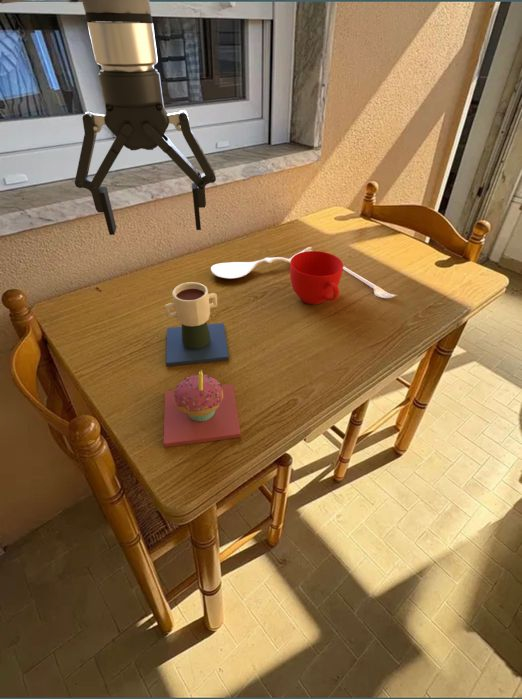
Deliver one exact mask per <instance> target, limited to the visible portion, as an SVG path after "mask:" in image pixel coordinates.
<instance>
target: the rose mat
mask: <svg viewBox="0 0 522 699" xmlns="http://www.w3.org/2000/svg"><path fill="white" fill-rule="evenodd" d="M220 385H221V386H222V390H223V400H222V402H221V403H220V405H219V407H218V408H217V409H216V410H215V413H214V415H213V416H212V417H211V418H210V419H208V420H206V421H195V420H193V419H192V418H190V416H189V415H188V414H186V413H184V412H182V411H180V410H178V409H177V406H176V403H175V400H174V391H175V390H169V391H164V413H163V414H164V417H163V420H164V421H163V447H164V448H169V447H176V446H185V445H193V444H200V443H207V442H215V441H222V440H231V439H238V438H241V437H242V435H241V428H240V422H239V421H240V420H239V414H238V408H237V402H236V396H235V390H234V389H235V388H234V384H233V383H230V384H220Z"/></svg>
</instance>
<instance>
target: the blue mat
mask: <svg viewBox="0 0 522 699" xmlns="http://www.w3.org/2000/svg"><path fill="white" fill-rule="evenodd" d="M207 325H208V329H209V333H210V338H211V339H210V341H209V343H208V344H207V345H206V346H205V347H202V348H198V349H195V348H189V347H187V346H185V345H184V344H183V343H182V326H175V327H174V326H172V327H167V328H166V351H165V352H166V354H165V365H166V367H174V366H184V365H193V364H194V365H195V364H196V365H197V364H205V363H215V362H216V363H217V362H223V361H229V360H230V355H229V349H228V342H227V336H226V330H225V323H224V322H218V323H209V324H208V323H207Z"/></svg>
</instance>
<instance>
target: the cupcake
mask: <svg viewBox="0 0 522 699" xmlns="http://www.w3.org/2000/svg"><path fill="white" fill-rule="evenodd" d="M221 385H222V384H221V383H220V380H219V381H218V380H217V379H216V378H214V377H213V376H211V375H207V374H204V373H203V369H200V371H199V372H198V374H193V375H189V376H188V377H184V378H183V380H181V381H180V382H179V383H178V384H177V386H176V387H175V389H174V390H173V391H174V400H175V403H176V406H177V409H178V410H180V411H182V412H184V413H186V414H188V415H189V416H190V418H192V419H193V420H195V421H206V420H208V419H210V418H211V417H212V416H213V415H214V413H215V410H216V409H217V408H218V407H219V405H220V403H221V402H222V400H223V390H222V386H221Z"/></svg>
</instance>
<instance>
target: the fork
mask: <svg viewBox="0 0 522 699" xmlns="http://www.w3.org/2000/svg"><path fill="white" fill-rule="evenodd" d="M343 270H344V271H345V272H347V273H348V274H350V275H351V276H353V277H355V278H356V279H357V280H359V281H361V282H362V283H364V284H366V286H369V287H370V288H371V289H373V294H374V296H376V297H378V298H380V299H381V298H382V299H392V298H394V297H396V296H397V294H393V293H390V292H387V291H386V290H384V289H383V288H381V287H380V286H378V285H376V284H374V283H373V282H371V281H369V280H368V279H366V278H364V276H363V277H362V276H361V275H359V274H357V273H356V272H354V271H353V270H351V269H350V268H347V267H346V266H343Z"/></svg>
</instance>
